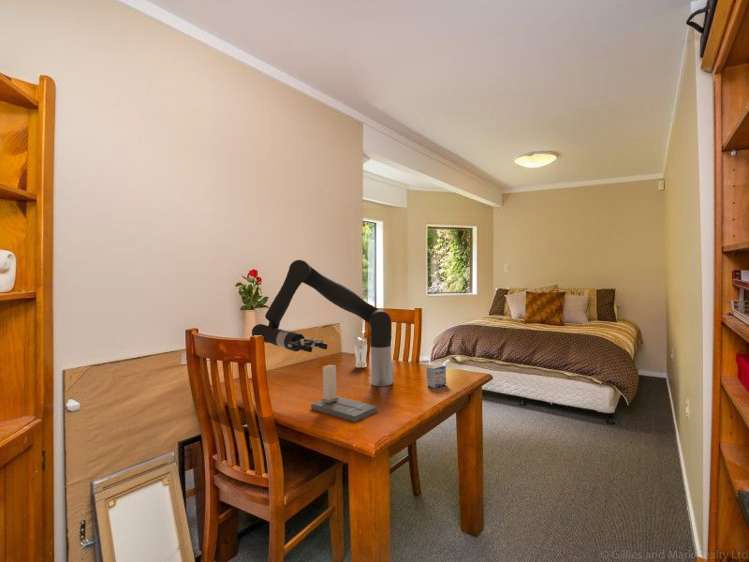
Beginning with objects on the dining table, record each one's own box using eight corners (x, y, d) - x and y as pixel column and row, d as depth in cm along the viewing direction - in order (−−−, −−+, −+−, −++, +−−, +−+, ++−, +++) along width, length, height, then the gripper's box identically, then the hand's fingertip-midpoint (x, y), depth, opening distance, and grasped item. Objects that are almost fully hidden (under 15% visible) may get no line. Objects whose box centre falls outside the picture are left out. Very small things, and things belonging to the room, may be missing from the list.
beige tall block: (331, 397, 151) (330, 364, 150) (338, 399, 148) (337, 365, 148) (321, 401, 147) (320, 366, 146) (329, 403, 144) (328, 368, 144)
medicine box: (434, 388, 167) (434, 368, 166) (426, 386, 170) (426, 367, 170) (446, 385, 172) (446, 365, 171) (438, 383, 175) (438, 364, 175)
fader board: (334, 400, 155) (334, 395, 155) (377, 411, 141) (377, 406, 141) (311, 409, 145) (311, 403, 145) (355, 422, 131) (354, 415, 131)
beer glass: (356, 368, 206) (355, 340, 206) (353, 365, 213) (352, 338, 213) (369, 367, 208) (368, 339, 208) (365, 364, 215) (365, 337, 215)
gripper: (277, 332, 154) (307, 340, 145) (303, 329, 166) (332, 336, 157) (276, 351, 155) (305, 360, 145) (302, 347, 166) (330, 355, 157)
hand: (319, 348), depth 151 cm, fingers open, 8 cm apart
